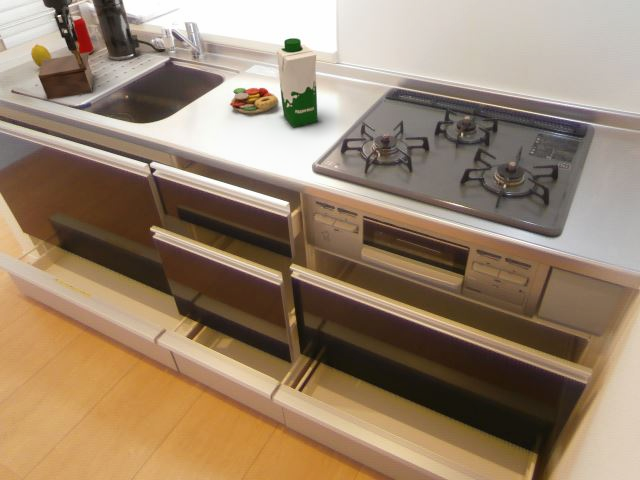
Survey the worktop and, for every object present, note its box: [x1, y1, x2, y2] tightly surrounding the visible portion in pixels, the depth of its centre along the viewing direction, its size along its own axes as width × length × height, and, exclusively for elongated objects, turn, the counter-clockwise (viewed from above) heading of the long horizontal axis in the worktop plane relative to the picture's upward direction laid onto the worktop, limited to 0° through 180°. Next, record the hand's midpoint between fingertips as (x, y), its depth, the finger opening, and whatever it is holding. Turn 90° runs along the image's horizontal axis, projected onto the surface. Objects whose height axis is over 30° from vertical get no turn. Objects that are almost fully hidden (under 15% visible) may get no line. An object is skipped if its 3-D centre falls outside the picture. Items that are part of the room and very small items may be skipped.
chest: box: [39, 62, 94, 100], centre depth 155 cm, size 13×13×6 cm
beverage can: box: [72, 15, 94, 55], centre depth 176 cm, size 6×6×12 cm
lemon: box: [30, 43, 52, 68], centre depth 167 cm, size 6×6×8 cm
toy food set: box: [229, 87, 279, 115], centre depth 141 cm, size 13×13×3 cm
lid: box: [38, 41, 90, 79], centre depth 151 cm, size 13×13×6 cm
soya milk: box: [276, 37, 319, 128], centre depth 129 cm, size 9×9×20 cm
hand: (74, 45), depth 150 cm, fingers open, 8 cm apart
